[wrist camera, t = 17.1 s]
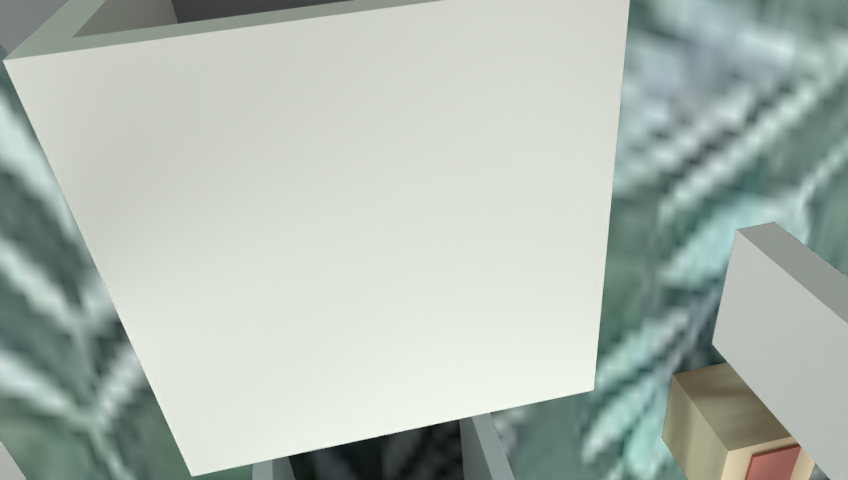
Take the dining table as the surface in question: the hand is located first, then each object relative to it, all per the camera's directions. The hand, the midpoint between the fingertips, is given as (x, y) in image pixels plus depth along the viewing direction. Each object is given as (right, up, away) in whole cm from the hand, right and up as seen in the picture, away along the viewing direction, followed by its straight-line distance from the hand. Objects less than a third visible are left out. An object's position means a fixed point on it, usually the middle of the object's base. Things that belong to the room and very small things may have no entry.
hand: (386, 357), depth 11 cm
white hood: (-2, +7, +10) cm, 12 cm away
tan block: (+16, -6, +23) cm, 29 cm away
